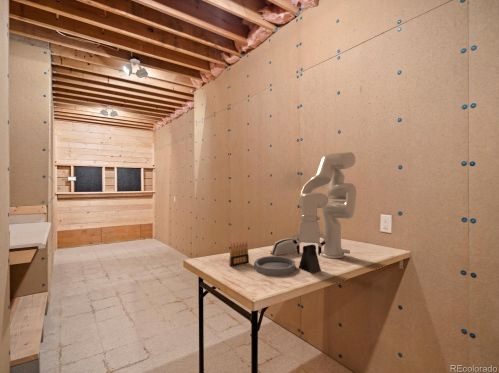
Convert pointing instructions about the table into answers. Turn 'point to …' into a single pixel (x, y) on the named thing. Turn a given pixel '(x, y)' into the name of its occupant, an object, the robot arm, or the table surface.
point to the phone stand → (309, 259)
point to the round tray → (274, 265)
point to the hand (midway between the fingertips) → (308, 254)
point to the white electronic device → (283, 247)
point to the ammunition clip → (238, 254)
